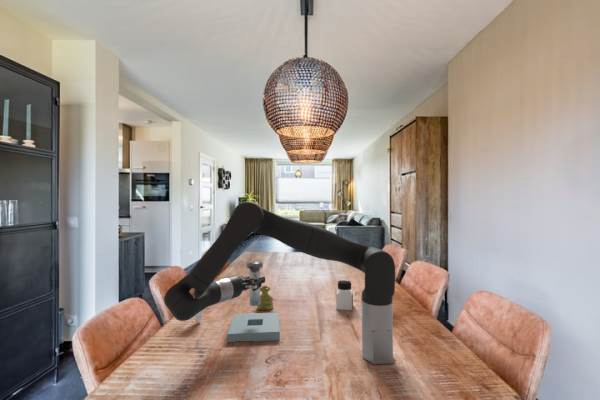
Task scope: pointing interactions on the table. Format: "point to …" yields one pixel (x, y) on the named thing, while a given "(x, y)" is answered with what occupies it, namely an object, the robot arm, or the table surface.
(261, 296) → the brass weight
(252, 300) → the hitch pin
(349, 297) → the medicine bottle
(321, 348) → the table surface
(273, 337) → the socket board
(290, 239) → the robot arm
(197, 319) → the lightbulb
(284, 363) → the table surface
